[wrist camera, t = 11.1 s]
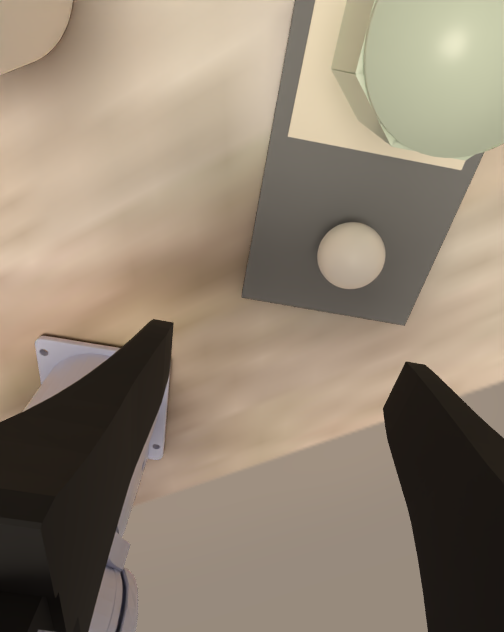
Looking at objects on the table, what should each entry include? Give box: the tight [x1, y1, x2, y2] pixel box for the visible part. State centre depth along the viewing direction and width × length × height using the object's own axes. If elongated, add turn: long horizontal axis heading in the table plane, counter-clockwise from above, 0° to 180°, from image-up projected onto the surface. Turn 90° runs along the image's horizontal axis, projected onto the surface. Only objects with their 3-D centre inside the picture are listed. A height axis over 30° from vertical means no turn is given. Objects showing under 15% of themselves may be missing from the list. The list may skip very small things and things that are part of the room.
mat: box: [242, 0, 484, 326], centre depth 18 cm, size 16×9×1 cm, turn 170°
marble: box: [317, 222, 385, 289], centre depth 18 cm, size 3×3×3 cm
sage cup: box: [331, 0, 504, 160], centre depth 13 cm, size 5×5×6 cm
